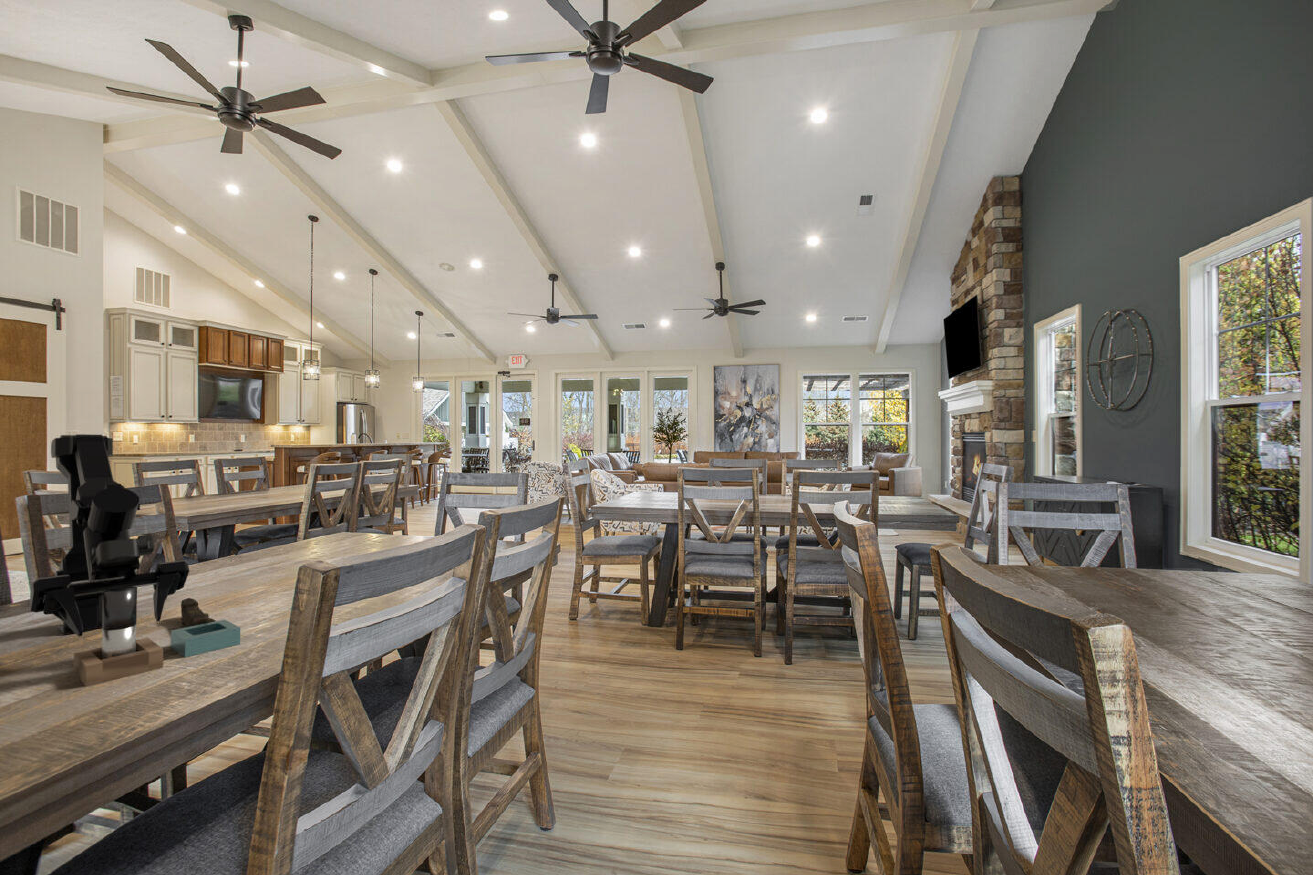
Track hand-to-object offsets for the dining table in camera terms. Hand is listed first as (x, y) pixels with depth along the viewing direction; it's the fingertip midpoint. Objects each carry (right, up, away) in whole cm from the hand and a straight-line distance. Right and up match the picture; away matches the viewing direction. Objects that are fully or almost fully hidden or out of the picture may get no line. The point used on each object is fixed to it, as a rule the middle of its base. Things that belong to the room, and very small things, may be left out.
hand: (121, 627), depth 90 cm
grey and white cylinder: (-1, -7, +1) cm, 7 cm away
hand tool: (-7, -8, +21) cm, 23 cm away
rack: (-1, -7, +1) cm, 7 cm away
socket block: (+4, -7, +12) cm, 14 cm away
